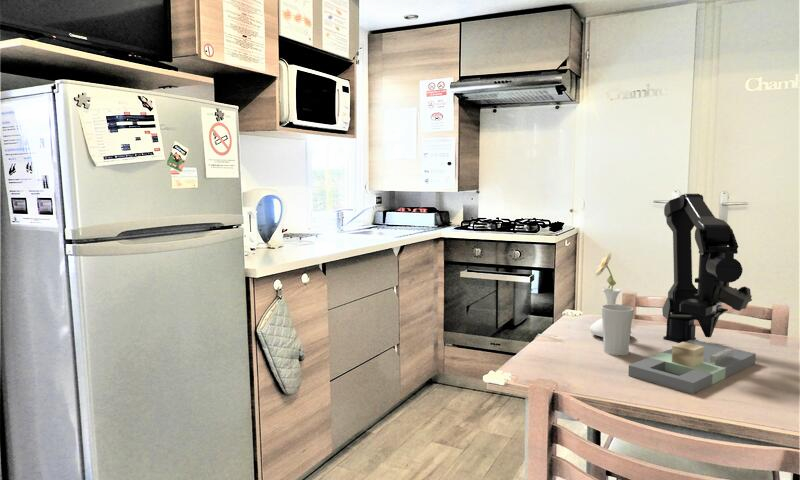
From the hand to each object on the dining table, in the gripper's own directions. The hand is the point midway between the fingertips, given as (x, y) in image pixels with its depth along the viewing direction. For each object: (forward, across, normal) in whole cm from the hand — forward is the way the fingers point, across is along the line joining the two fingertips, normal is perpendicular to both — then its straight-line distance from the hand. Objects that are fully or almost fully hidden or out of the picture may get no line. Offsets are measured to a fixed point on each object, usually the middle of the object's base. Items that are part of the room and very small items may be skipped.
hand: (708, 337), depth 145 cm
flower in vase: (+7, +2, +29) cm, 30 cm away
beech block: (+4, -10, 0) cm, 11 cm away
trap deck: (+7, -7, 0) cm, 9 cm away
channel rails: (+4, -3, 0) cm, 5 cm away
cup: (+7, -9, +20) cm, 23 cm away
